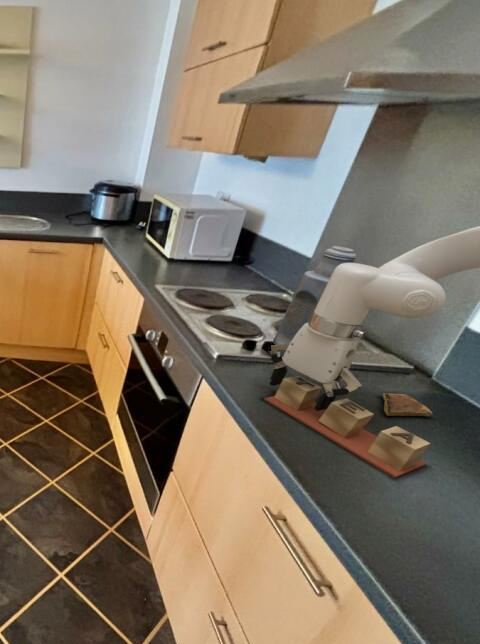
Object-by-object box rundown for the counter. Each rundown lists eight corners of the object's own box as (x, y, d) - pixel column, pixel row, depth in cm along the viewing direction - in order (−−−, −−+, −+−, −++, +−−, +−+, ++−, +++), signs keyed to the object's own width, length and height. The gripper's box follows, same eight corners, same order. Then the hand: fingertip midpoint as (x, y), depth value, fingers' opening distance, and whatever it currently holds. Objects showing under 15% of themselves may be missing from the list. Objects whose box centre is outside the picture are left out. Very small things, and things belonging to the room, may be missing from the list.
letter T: (311, 406, 90) (322, 386, 87) (296, 410, 88) (307, 390, 86) (288, 393, 94) (298, 374, 92) (274, 397, 92) (283, 377, 90)
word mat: (425, 465, 76) (426, 463, 76) (394, 478, 72) (396, 476, 72) (293, 392, 95) (293, 390, 95) (263, 399, 92) (264, 398, 92)
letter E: (359, 433, 82) (375, 413, 80) (344, 438, 81) (359, 418, 78) (333, 416, 86) (347, 397, 84) (318, 420, 85) (332, 401, 82)
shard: (384, 417, 89) (389, 410, 88) (354, 396, 96) (358, 389, 95) (431, 418, 90) (436, 411, 89) (397, 397, 96) (402, 391, 96)
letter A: (415, 464, 75) (431, 442, 73) (399, 470, 73) (416, 448, 71) (382, 446, 79) (397, 424, 77) (367, 451, 77) (381, 430, 75)
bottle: (259, 349, 114) (307, 242, 101) (288, 348, 116) (338, 242, 103) (289, 367, 106) (346, 253, 92) (320, 365, 108) (379, 253, 94)
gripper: (395, 343, 77) (351, 417, 84) (300, 307, 91) (269, 373, 99) (372, 348, 74) (328, 424, 82) (277, 310, 88) (248, 378, 96)
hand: (296, 396), depth 90 cm, fingers open, 9 cm apart
